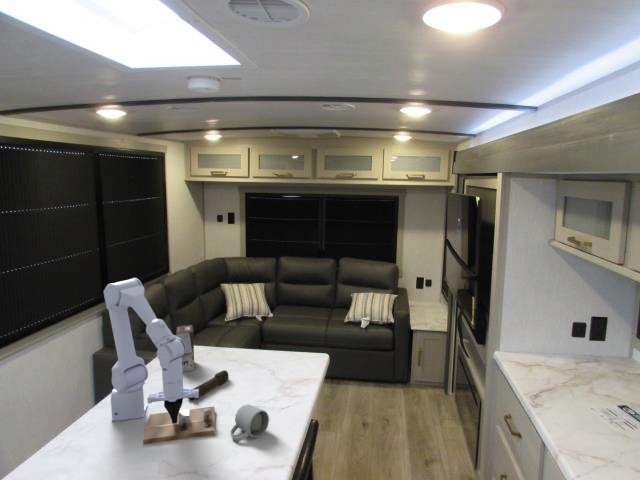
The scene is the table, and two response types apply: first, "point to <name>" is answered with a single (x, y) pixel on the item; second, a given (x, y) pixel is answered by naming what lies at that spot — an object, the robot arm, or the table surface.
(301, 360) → the table surface
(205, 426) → the wooden board
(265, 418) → the ceramic mug
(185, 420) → the white rectangular block
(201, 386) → the hand tool
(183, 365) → the coffee box
